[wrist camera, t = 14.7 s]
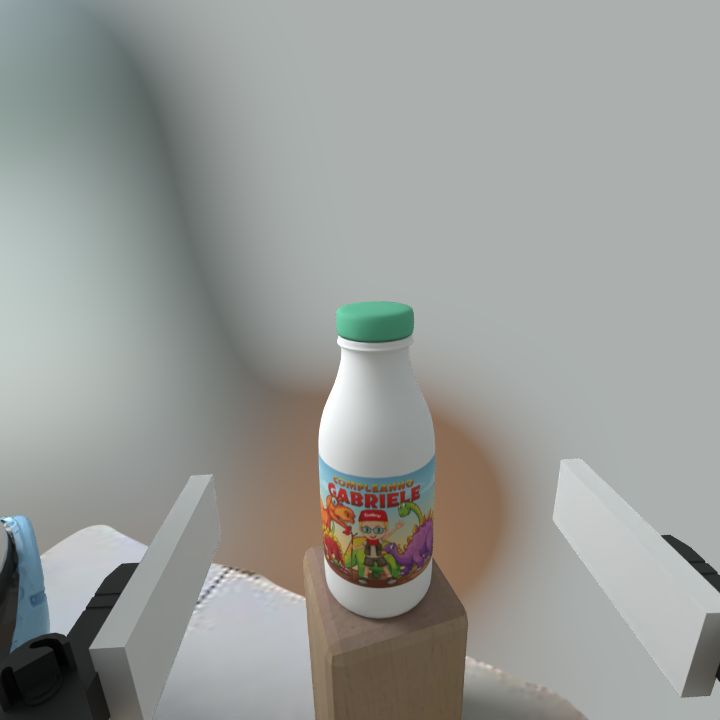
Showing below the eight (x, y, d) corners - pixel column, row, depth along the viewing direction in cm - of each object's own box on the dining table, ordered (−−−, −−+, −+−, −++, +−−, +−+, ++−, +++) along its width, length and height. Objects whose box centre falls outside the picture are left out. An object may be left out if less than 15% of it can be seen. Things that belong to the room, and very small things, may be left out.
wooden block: (410, 681, 43) (413, 518, 37) (460, 804, 34) (475, 613, 28) (314, 715, 40) (299, 544, 34) (339, 858, 31) (326, 659, 25)
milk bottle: (321, 545, 34) (306, 299, 28) (414, 533, 35) (418, 293, 29) (330, 632, 27) (312, 324, 21) (447, 613, 28) (462, 315, 22)
